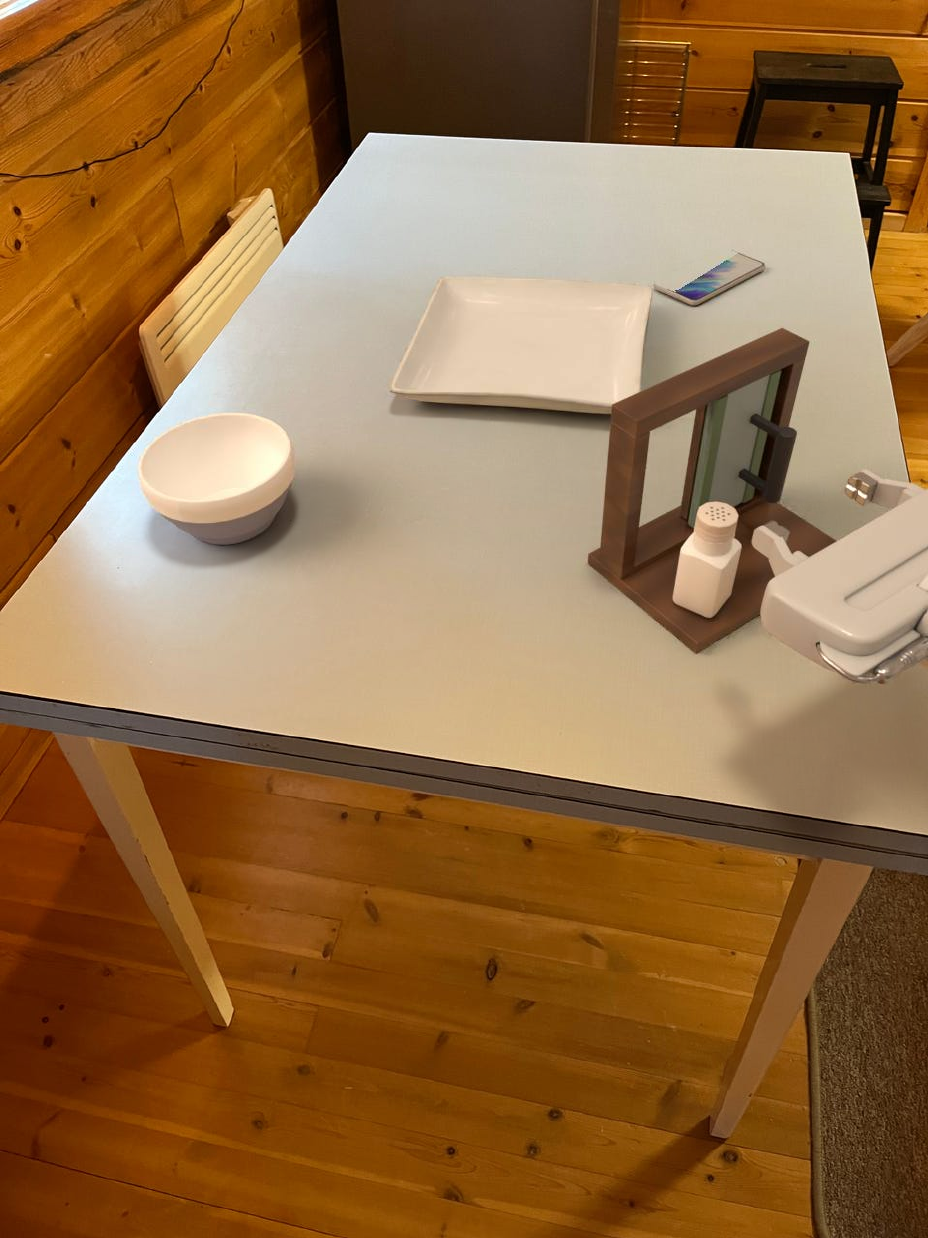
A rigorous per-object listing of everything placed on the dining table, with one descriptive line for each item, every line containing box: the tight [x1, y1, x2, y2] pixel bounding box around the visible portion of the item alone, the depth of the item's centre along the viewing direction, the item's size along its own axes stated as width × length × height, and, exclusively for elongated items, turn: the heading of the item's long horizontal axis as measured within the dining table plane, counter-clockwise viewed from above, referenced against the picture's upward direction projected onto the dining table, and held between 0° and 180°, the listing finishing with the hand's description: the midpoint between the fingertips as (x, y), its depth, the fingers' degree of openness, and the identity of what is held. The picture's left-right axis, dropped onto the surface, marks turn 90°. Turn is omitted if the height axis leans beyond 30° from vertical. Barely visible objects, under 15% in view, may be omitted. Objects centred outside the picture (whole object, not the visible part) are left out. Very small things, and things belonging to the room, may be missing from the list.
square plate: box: [388, 276, 653, 415], centre depth 109 cm, size 27×27×4 cm
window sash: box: [688, 370, 798, 528], centre depth 80 cm, size 5×7×14 cm
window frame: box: [587, 327, 837, 654], centre depth 78 cm, size 14×19×18 cm
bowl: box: [137, 412, 297, 545], centre depth 89 cm, size 14×14×8 cm
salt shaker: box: [673, 501, 741, 618], centre depth 76 cm, size 4×4×10 cm
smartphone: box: [653, 249, 766, 306], centre depth 122 cm, size 7×1×15 cm
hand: (807, 505), depth 65 cm, fingers open, 8 cm apart
